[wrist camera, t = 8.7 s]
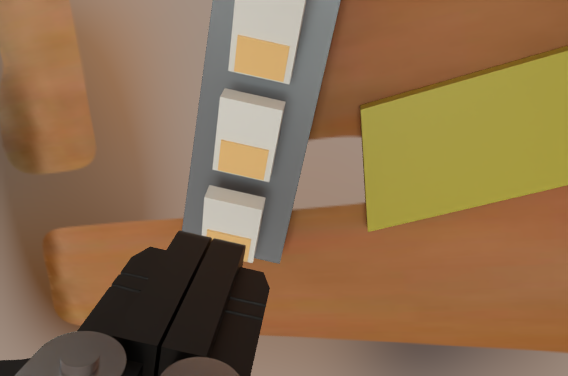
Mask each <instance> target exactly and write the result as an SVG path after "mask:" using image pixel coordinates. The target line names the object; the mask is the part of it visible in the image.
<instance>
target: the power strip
mask: <svg viewBox="0 0 568 376" xmlns="http://www.w3.org/2000/svg"><path fill="white" fill-rule="evenodd" d="M340 1H341V0H306V5H305V11H304V16H303V21H302V26H301V32H300V37H299V42H298V47H297V52H296V58H295V63H294V68H293V73H292V77H291V81H290V84H285V83H280V82H276V81H271V80H267V79H262V78H258V77H253V76H249V75H244V74H240V73H235V72H231V71H228V67H229V57H230V46H231V35H232V24H233V14H234V3H235V0H213V2H212V10H211V18H210V26H209V32H208V40H207V47H206V55H205V62H204V70H203V77H202V86H201V92H200V100H199V108H198V115H197V122H196V131H195V137H194V145H193V152H192V160H191V167H190V175H189V182H188V190H187V198H186V205H185V212H184V219H183V227H182V231H185V232H189V233H194V234H198V235H202V222H203V208H204V197H205V194H206V192H207V189H208V187H209V185H212V186H216V187H221V188H225V189H229V190H234V191H238V192H243V193H247V194H252V195H256V196H261V197H265V198H266V199H265V205H264V210H263V215H262V221H261V226H260V232H259V237H258V242H257V248H256V252H255V256H254V258H256V259H261V260H265V261H270V262H274V263H279V264H280V260H281V255H282V251H283V247H284V243H285V238H286V234H287V230H288V225H289V221H290V217H291V212H292V208H293V204H294V199H295V195H296V191H297V186H298V182H299V178H300V174H301V169H302V165H303V161H304V156H305V152H306V147H307V143H308V139H309V135H310V130H311V126H312V122H313V117H314V113H315V109H316V104H317V100H318V96H319V92H320V87H321V83H322V79H323V74H324V70H325V66H326V61H327V57H328V53H329V48H330V44H331V40H332V35H333V31H334V27H335V22H336V18H337V14H338V10H339V5H340ZM225 88H227V89H231V90H236V91H240V92H245V93H249V94H253V95H258V96H262V97H267V98H271V99H276V100H280V101H285V102H286V103H285V108H284V113H283V118H282V123H281V128H280V134H279V139H278V144H277V149H276V154H275V159H274V164H273V170H272V174H271V177H270V181H269V182H266V181H261V180H257V179H252V178H248V177H243V176H239V175H234V174H230V173H225V172H221V171H217V170H212V168H213V159H214V149H215V140H216V130H217V120H218V111H219V101H220V96H221V94H222V92H223V90H224V89H225Z"/></svg>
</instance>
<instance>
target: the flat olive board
mask: <svg viewBox="0 0 568 376" xmlns="http://www.w3.org/2000/svg"><path fill="white" fill-rule="evenodd" d="M360 115H361V132H362V151H363V168H364V185H365V202H366V216H367V228H368V232H370V231H374V230H378V229H383V228H387V227H391V226H396V225H400V224H404V223H408V222H413V221H417V220H421V219H425V218H430V217H434V216H438V215H442V214H447V213H451V212H455V211H460V210H464V209H468V208H472V207H477V206H481V205H485V204H489V203H494V202H498V201H502V200H507V199H511V198H515V197H519V196H524V195H528V194H532V193H536V192H541V191H545V190H549V189H554V188H558V187H562V186H566V185H568V46H565V47H561V48H558V49H554V50H551V51H547V52H544V53H540V54H537V55H533V56H530V57H526V58H523V59H519V60H516V61H512V62H509V63H505V64H502V65H499V66H495V67H492V68H488V69H485V70H481V71H478V72H474V73H471V74H467V75H464V76H460V77H457V78H453V79H450V80H446V81H443V82H439V83H436V84H432V85H429V86H425V87H422V88H419V89H415V90H412V91H408V92H405V93H401V94H398V95H394V96H391V97H387V98H384V99H380V100H377V101H373V102H370V103H366V104H363V105H360Z"/></svg>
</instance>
